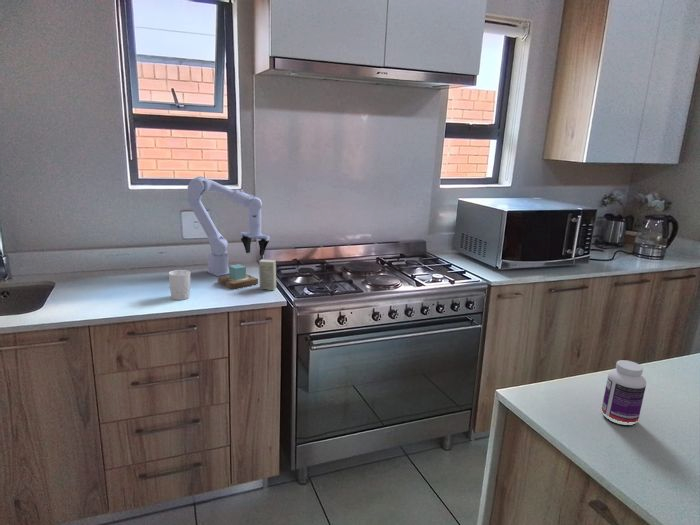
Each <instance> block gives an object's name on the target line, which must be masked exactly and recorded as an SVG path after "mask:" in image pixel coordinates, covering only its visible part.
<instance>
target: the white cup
mask: <svg viewBox="0 0 700 525" xmlns="http://www.w3.org/2000/svg"><path fill="white" fill-rule="evenodd" d="M168 279H169V288H170V290H169V291H170V295H171V296H170V297H171V299H172V300H175V301H184V300H187V299H189V298H190V296H191V294H190V293H191V271H190V270H188V269H175V270H171V271H169V272H168Z"/></svg>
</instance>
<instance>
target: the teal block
mask: <svg viewBox="0 0 700 525" xmlns="http://www.w3.org/2000/svg"><path fill="white" fill-rule="evenodd" d="M228 271H229V274H228V275H229V277H230V278H232V279H234V280H239V279H244V278H246V274H247V267H246V266H245V265H243V264H240V263H238V264H233V265H228Z"/></svg>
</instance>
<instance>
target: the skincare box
mask: <svg viewBox="0 0 700 525" xmlns="http://www.w3.org/2000/svg"><path fill="white" fill-rule="evenodd" d="M258 272H259V273H258V275H259V279H258V281H259V290H260V289H268V290H267V291H275V290H276V288H277V260H276V259H262V258H261V259H260V260H258ZM274 289H275V290H274Z"/></svg>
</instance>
